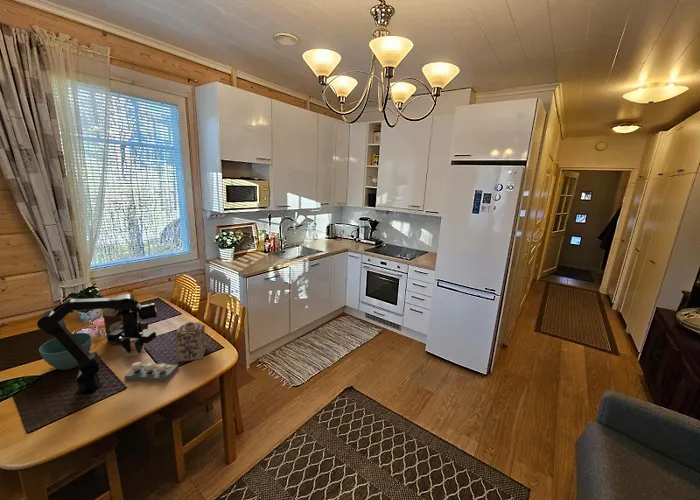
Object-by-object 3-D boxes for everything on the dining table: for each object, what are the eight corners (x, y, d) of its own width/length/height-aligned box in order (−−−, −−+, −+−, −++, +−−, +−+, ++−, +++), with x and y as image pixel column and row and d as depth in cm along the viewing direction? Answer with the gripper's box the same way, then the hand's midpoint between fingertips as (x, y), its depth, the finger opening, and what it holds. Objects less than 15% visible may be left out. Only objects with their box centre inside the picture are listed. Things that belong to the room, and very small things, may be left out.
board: (165, 382, 137) (165, 378, 136) (125, 379, 137) (124, 375, 137) (178, 368, 146) (178, 364, 146) (140, 366, 147) (140, 362, 146)
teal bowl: (101, 361, 149) (97, 339, 146) (52, 382, 134) (47, 358, 131) (86, 350, 158) (82, 329, 155) (38, 367, 142) (33, 345, 140)
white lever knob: (163, 375, 138) (163, 368, 137) (155, 374, 138) (154, 368, 137) (169, 370, 142) (168, 363, 141) (161, 369, 142) (160, 363, 141)
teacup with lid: (124, 359, 152) (120, 338, 149) (123, 350, 158) (120, 331, 156) (152, 351, 159) (149, 331, 156) (149, 343, 166) (147, 324, 163)
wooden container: (114, 348, 160) (108, 311, 155) (102, 340, 167) (96, 304, 162) (144, 337, 172) (140, 302, 167) (132, 329, 180) (127, 295, 174)
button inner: (138, 373, 138) (137, 367, 137) (130, 373, 138) (129, 366, 137) (144, 368, 142) (143, 362, 141) (136, 368, 142) (135, 361, 141)
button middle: (151, 374, 138) (150, 368, 137) (142, 374, 138) (141, 367, 137) (156, 369, 142) (156, 362, 141) (148, 368, 142) (147, 362, 141)
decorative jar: (177, 362, 151) (173, 330, 147) (183, 349, 162) (180, 319, 158) (202, 359, 154) (200, 328, 150) (207, 347, 165) (204, 317, 161)
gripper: (162, 315, 141) (165, 344, 145) (123, 312, 142) (128, 342, 146) (145, 326, 131) (149, 357, 134) (104, 324, 131) (109, 355, 135)
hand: (134, 352), depth 138 cm, fingers open, 4 cm apart
